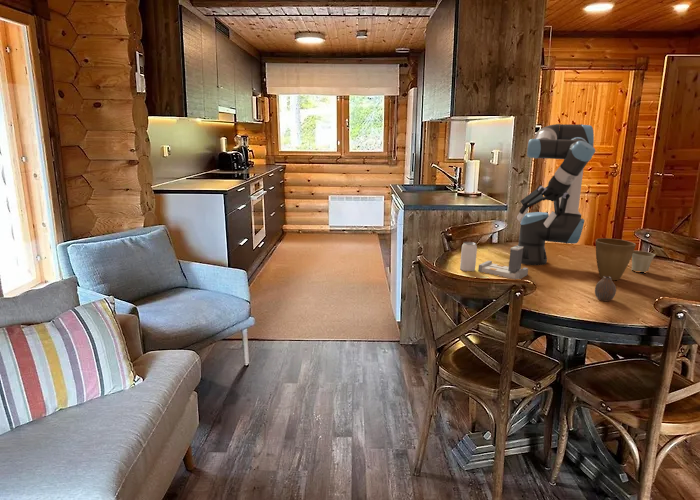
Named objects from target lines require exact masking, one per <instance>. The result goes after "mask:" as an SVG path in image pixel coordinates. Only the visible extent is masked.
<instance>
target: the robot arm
mask: <svg viewBox="0 0 700 500" xmlns="http://www.w3.org/2000/svg"><path fill="white" fill-rule="evenodd" d="M594 136H595V135H594V128H593V126H592V125H589V124H582V123H581V124H576V123H575V124H566V123H565V124H564V123H562V124H561V123H556V124H555V123H554V124H550V125H547V126H544V127H542V128H540V129H539V130H538V131H537V132H536V133H535V135H534V138H531V139H529V140H528V143H527V149H526V150H527V152H526V156H527V158H530V159H532V158H533V159H546V160H548V159H551V160H552V159H553V160H563V161H562V162H561V164H560V165H559V167H558V168H557V169H556V171H555V172H554V173H553V174H554V175H552V177H551V178H550V179H549V181H548V184H547V186H546V187H545V186H543V185H542V184H539V185H538V186H537V187H536V189H535V190H534V191H532V192H531V193H529V194H527V196H524V198H523V199H522V198H521V200H520V204H521V205H522V206H521V208H520V209H519V213H518V214H517V216H516V219H517V221H518V222H520V223H519V224H520V228H519V229H520V230H519V235H518V244H517V246H522V247H523V253H522V262H521V265H526V266H528V265H529V266H544V265H547V263H548V257H547V256H548V255H547V251H546V247H545V244H546V242H551V243H558V244H559V243H561V244H568V245H569V244H571V245H572V244H573V245H574V244H577V243H579V241H580V239H581V236H582V232H583V229H584V224H585V219H584V218H582V213H581V212H580V211H579V209H580V208H579V207H580V199H581V194H582V193H581V191H582V184H583V176H584V175H583V174H584V168H585V167H586V166H587V164H588V163H589V162H590V161H591V160H592V158H593V156H594V154H596V148H595V147H594V142H595V137H594ZM542 201H543V202H544V201H551V202H553V208H554V210H553V211H551V212H550V213H548V212H545V211H535V212H528V211H529V210H530V208H531V207H533V206H534V205H537V204H538V203H541V202H542Z"/></svg>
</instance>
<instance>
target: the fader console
mask: <svg viewBox="0 0 700 500" xmlns="http://www.w3.org/2000/svg"><path fill="white" fill-rule="evenodd" d="M508 269H509V265H508V266H507V265H504V264H498V263H493V261H492V260H485V262H482V263H480V264H478V269H477V271H478V272H479V273H483V272H485V273H484V274H488V273H489V275H493V274H494V275H493V276H497V275H499V276H498V277H502V276H503V277H502V278H507V279H511V280H516V279H520V280H522V279H523V278H524V277H527V276H528V272H529V268H528V267H523V268H521V269H520V270H519V271H517V272H511V271H508Z"/></svg>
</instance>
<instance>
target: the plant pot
mask: <svg viewBox="0 0 700 500" xmlns="http://www.w3.org/2000/svg"><path fill="white" fill-rule="evenodd" d="M636 245H637V244H636V243H635V242H633V241H629V240H624V239H617V238H608V237H607V238H604V237H603V238H601V237H600V238H596V239H595V257H596V264H597V265H596V266H597V271H598V275H599V278H601V279H602V278H603V277H604V276H609V277H611V279H612V280H617V281H620V279H621V277H622V276H623V274H624V273H625V271H626V269H627V267H628V265H629V263H630V261H631V260H632V254H633V251H635V248H636Z"/></svg>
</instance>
